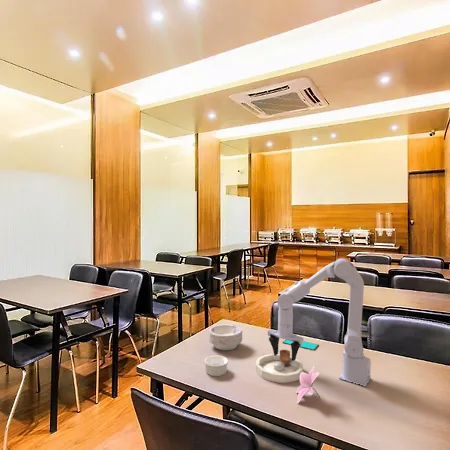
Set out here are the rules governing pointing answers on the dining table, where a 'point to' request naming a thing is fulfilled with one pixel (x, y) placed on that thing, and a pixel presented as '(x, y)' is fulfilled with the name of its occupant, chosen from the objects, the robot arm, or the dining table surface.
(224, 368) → the ramekin
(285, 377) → the ring tray
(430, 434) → the dining table surface
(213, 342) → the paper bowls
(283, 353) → the pepper mill
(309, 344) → the smartphone
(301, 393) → the lily
